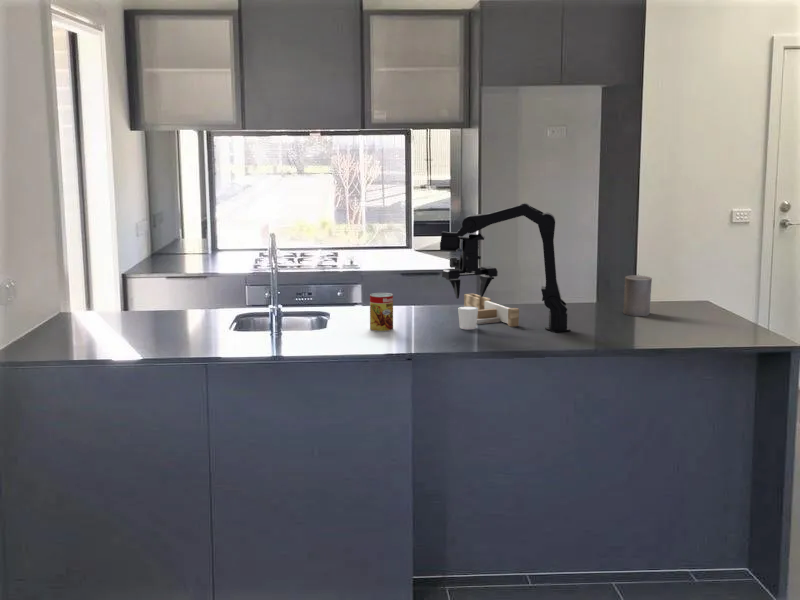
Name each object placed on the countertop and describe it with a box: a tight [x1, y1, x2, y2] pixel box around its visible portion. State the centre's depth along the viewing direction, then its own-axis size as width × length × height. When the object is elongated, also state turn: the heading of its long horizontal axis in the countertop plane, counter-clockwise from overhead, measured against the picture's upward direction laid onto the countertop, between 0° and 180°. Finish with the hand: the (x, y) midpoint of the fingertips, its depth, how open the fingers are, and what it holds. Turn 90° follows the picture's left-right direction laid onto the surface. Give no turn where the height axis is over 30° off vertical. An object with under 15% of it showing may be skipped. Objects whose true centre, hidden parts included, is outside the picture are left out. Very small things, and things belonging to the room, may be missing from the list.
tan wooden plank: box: [463, 293, 520, 328], centre depth 340 cm, size 34×12×6 cm, turn 24°
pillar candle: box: [622, 273, 653, 317], centre depth 348 cm, size 10×10×15 cm
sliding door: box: [477, 301, 510, 325], centre depth 335 cm, size 18×9×5 cm, turn 24°
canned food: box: [369, 292, 394, 332], centre depth 321 cm, size 8×8×12 cm
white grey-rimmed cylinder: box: [457, 305, 478, 330], centre depth 324 cm, size 7×7×7 cm
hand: (469, 297), depth 324 cm, fingers open, 9 cm apart
